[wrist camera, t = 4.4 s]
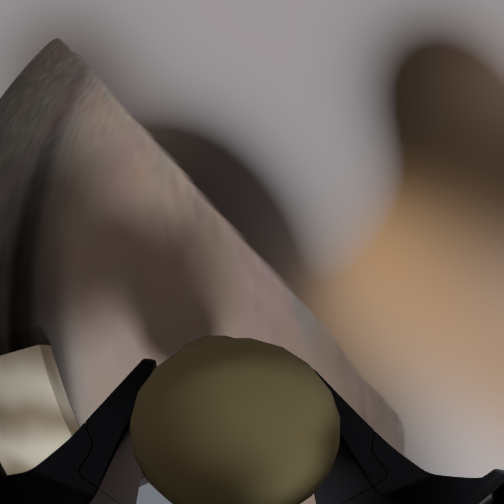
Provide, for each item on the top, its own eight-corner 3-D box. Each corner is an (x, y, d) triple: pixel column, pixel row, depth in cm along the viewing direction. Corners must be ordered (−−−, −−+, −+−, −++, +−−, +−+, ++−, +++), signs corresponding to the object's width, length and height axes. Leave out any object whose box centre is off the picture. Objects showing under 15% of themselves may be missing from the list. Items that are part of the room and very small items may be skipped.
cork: (291, 381, 15) (419, 419, 5) (222, 450, 13) (252, 576, 3) (217, 313, 16) (239, 249, 5) (145, 382, 14) (45, 435, 3)
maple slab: (104, 473, 14) (96, 482, 12) (19, 473, 11) (9, 479, 9) (51, 345, 17) (39, 344, 15) (-23, 365, 14) (-35, 364, 12)
